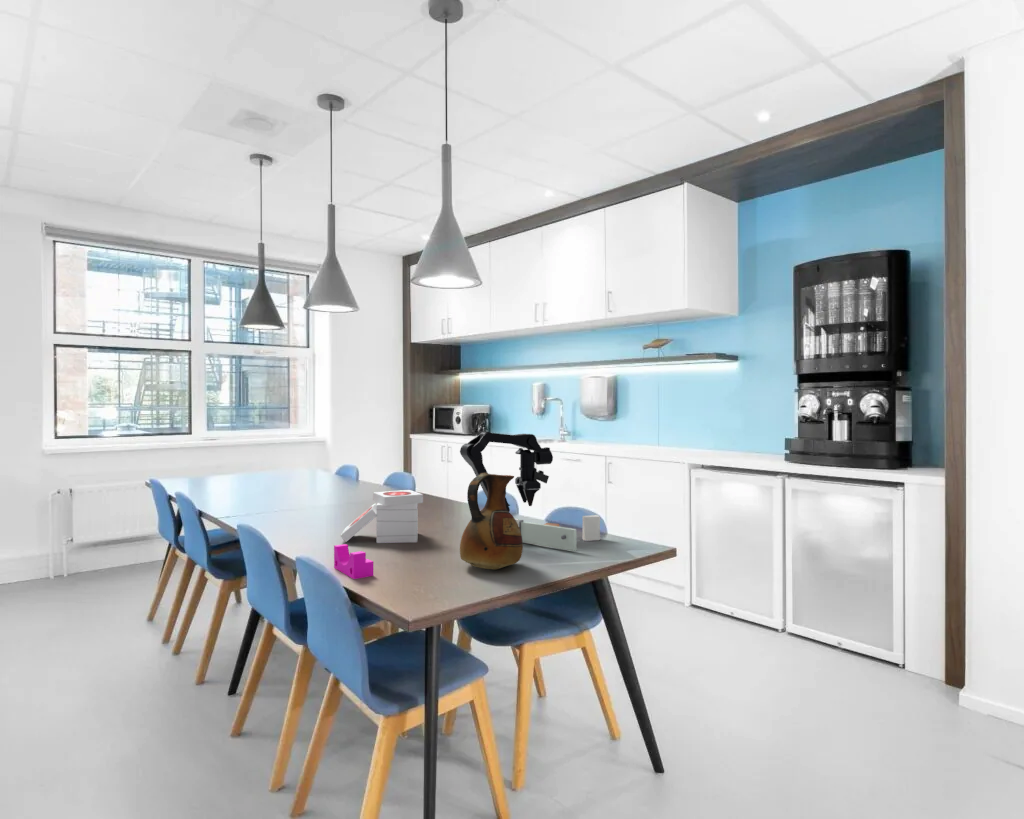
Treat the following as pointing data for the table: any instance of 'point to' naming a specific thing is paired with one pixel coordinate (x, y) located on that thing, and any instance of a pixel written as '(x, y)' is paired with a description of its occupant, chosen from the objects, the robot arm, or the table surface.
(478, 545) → the ceramic pitcher
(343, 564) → the toy block
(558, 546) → the door
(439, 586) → the table surface
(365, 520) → the pizza boxes
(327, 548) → the table surface
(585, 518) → the white small block
